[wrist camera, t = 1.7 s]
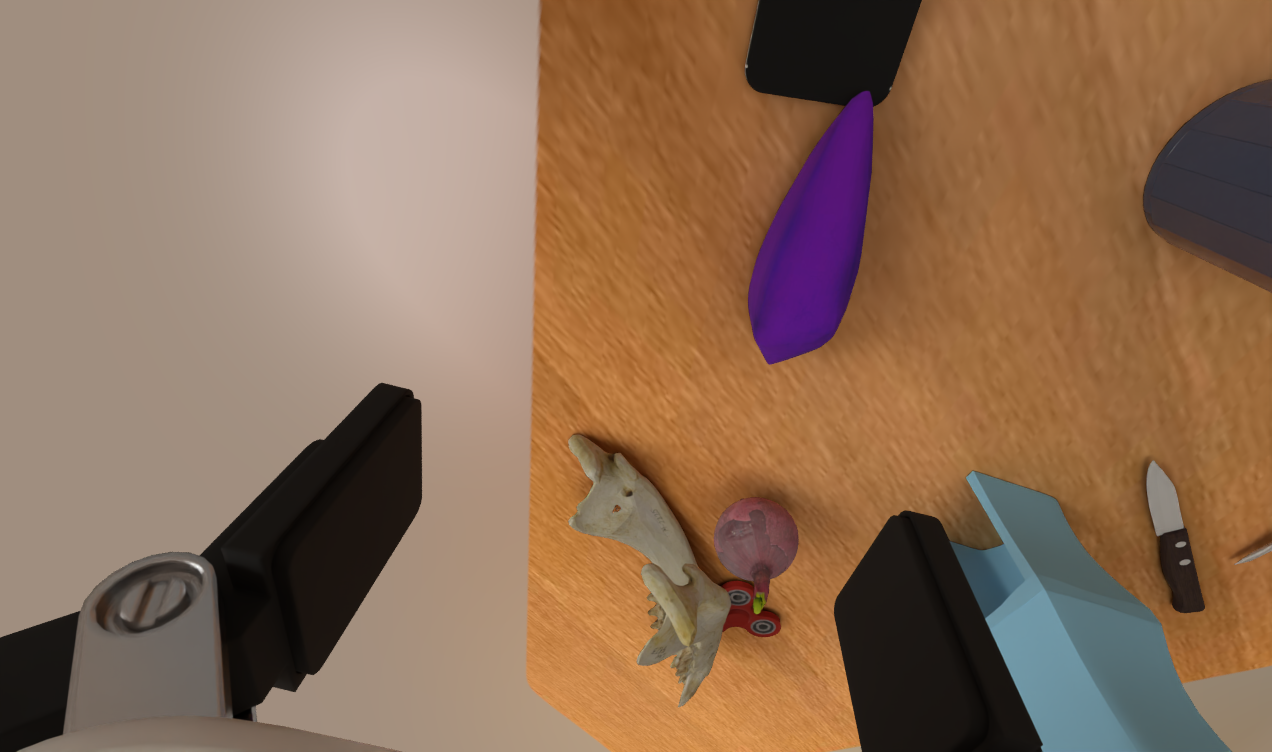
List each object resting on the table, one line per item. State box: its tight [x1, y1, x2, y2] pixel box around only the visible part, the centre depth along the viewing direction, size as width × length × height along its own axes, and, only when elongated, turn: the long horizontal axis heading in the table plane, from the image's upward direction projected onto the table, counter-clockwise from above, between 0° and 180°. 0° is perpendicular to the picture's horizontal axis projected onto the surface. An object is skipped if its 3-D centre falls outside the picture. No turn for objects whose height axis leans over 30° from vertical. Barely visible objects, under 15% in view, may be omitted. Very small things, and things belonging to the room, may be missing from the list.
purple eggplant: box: [748, 91, 873, 364], centre depth 30 cm, size 5×5×15 cm
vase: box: [950, 471, 1232, 752], centre depth 34 cm, size 8×8×20 cm
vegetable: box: [714, 497, 798, 614], centre depth 39 cm, size 6×6×10 cm
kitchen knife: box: [1146, 460, 1205, 613], centre depth 41 cm, size 18×1×2 cm
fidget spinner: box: [721, 581, 781, 637], centre depth 51 cm, size 8×7×1 cm
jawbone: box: [568, 434, 731, 707], centre depth 43 cm, size 25×18×10 cm
